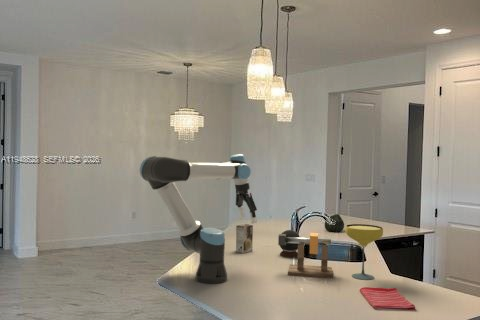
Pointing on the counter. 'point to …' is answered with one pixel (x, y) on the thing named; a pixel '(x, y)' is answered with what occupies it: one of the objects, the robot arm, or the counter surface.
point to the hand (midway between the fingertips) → (248, 220)
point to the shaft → (300, 240)
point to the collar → (313, 243)
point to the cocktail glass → (363, 241)
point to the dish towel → (386, 299)
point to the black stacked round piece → (290, 245)
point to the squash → (337, 226)
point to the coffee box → (244, 238)
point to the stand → (311, 270)
